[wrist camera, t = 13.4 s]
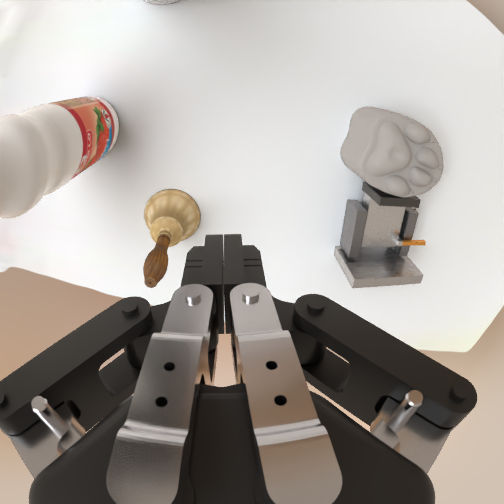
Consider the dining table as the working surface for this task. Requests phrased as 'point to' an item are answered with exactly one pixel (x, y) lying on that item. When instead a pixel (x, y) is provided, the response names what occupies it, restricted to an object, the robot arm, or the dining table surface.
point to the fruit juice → (51, 148)
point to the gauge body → (375, 252)
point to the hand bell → (167, 228)
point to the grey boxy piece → (385, 218)
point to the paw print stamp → (392, 152)
